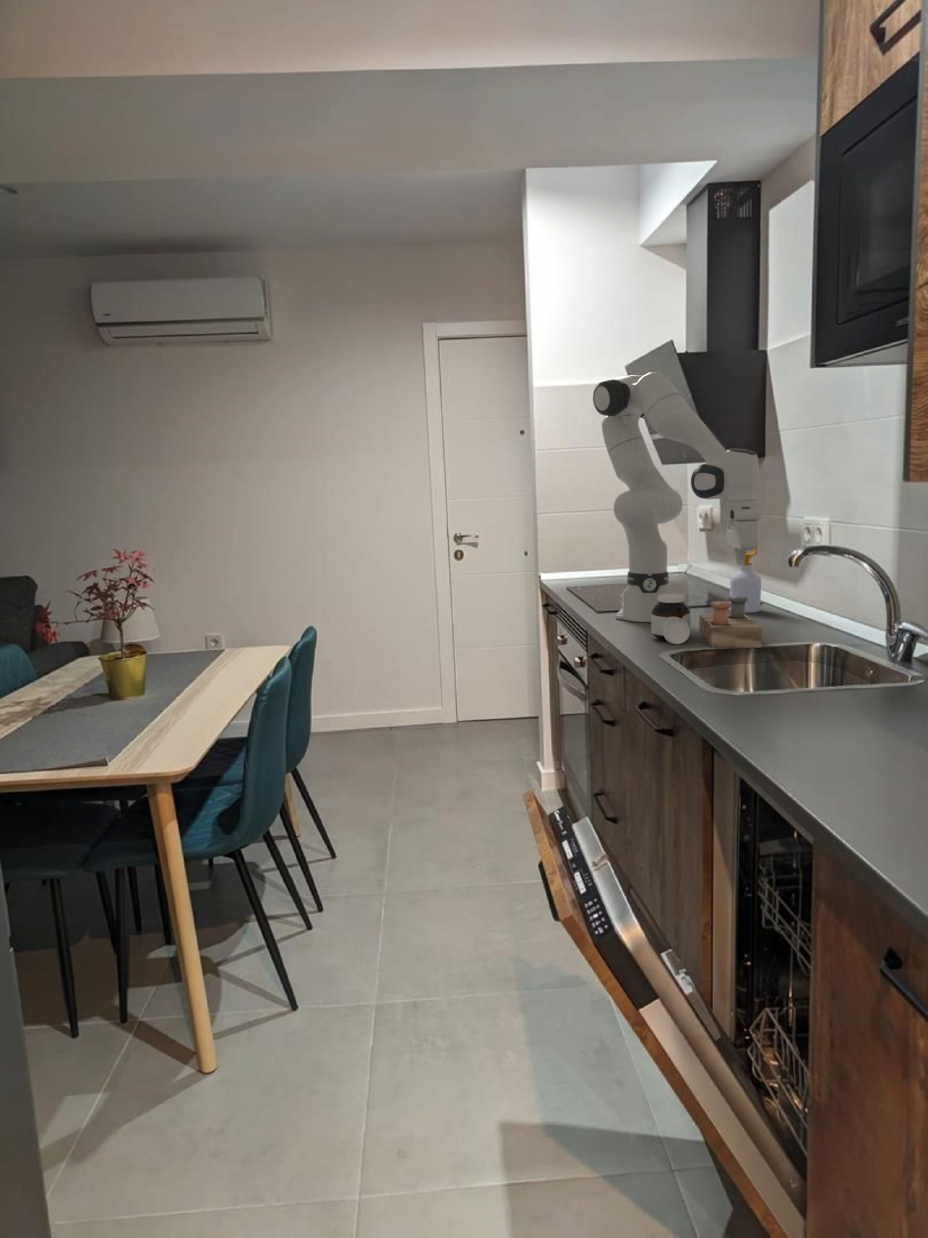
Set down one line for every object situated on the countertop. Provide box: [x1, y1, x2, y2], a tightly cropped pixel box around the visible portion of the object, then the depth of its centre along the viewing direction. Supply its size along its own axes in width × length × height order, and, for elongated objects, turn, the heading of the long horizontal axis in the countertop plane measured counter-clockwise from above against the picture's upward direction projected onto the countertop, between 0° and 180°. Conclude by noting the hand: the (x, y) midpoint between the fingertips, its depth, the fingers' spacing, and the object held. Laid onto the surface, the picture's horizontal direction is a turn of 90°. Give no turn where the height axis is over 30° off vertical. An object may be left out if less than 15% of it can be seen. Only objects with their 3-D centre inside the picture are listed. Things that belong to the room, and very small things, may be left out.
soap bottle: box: [728, 541, 762, 614], centre depth 261 cm, size 9×9×25 cm
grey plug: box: [728, 595, 748, 619], centre depth 224 cm, size 5×5×7 cm
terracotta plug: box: [710, 600, 731, 626], centre depth 216 cm, size 5×5×7 cm
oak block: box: [698, 613, 763, 649], centre depth 221 cm, size 20×12×5 cm, turn 173°
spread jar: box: [650, 593, 691, 645], centre depth 221 cm, size 12×11×12 cm
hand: (740, 564), depth 222 cm, fingers closed
